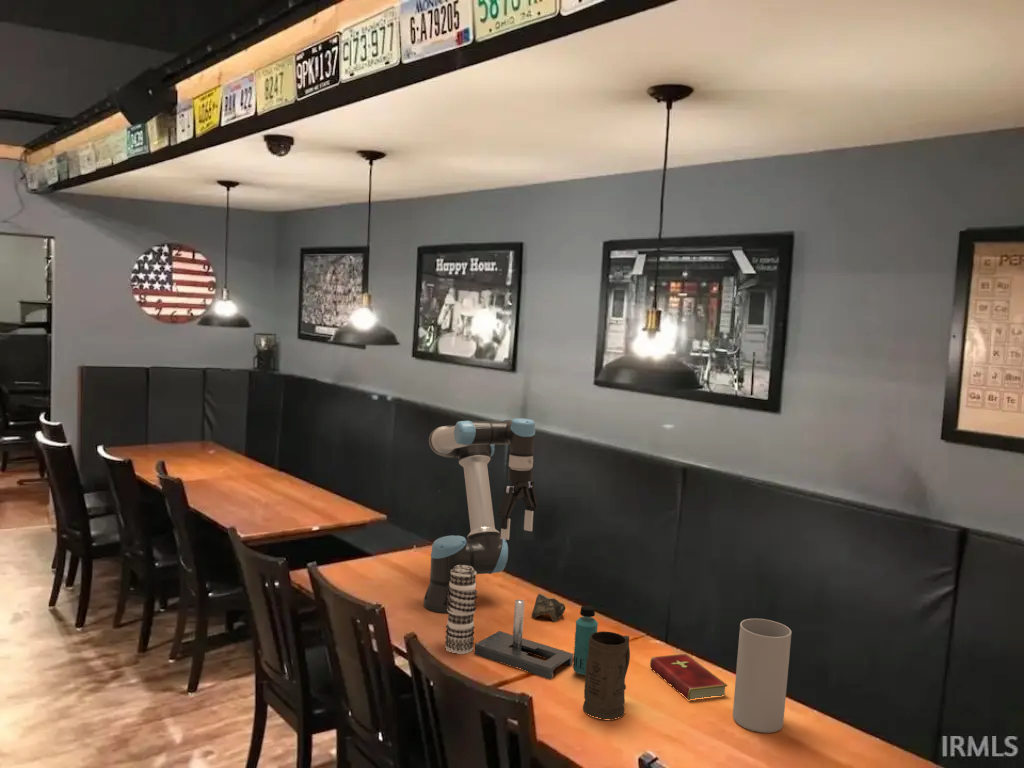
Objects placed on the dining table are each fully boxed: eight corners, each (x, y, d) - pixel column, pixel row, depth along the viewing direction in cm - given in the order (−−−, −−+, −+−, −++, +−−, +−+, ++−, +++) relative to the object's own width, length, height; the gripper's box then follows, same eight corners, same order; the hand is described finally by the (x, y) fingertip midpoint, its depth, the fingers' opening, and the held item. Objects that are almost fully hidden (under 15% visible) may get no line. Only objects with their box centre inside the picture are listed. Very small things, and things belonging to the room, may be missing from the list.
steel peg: (504, 657, 241) (507, 601, 240) (513, 651, 246) (517, 596, 244) (519, 662, 238) (522, 605, 237) (528, 656, 243) (531, 600, 241)
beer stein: (612, 726, 204) (620, 647, 203) (574, 713, 209) (581, 636, 209) (636, 707, 217) (644, 633, 216) (600, 695, 222) (607, 622, 222)
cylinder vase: (754, 737, 202) (762, 639, 200) (722, 714, 214) (730, 621, 212) (793, 730, 207) (802, 634, 205) (760, 707, 219) (768, 616, 217)
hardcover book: (688, 703, 220) (689, 688, 219) (649, 670, 239) (650, 656, 239) (726, 698, 224) (727, 683, 223) (685, 666, 243) (686, 652, 243)
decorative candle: (437, 647, 246) (441, 566, 243) (459, 639, 252) (464, 560, 250) (458, 657, 239) (462, 574, 237) (480, 649, 246) (485, 568, 244)
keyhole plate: (474, 654, 242) (474, 643, 242) (498, 640, 253) (499, 630, 253) (550, 679, 228) (550, 668, 228) (572, 664, 239) (573, 653, 239)
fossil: (566, 610, 281) (567, 590, 276) (562, 631, 274) (563, 611, 268) (535, 606, 283) (535, 585, 277) (530, 627, 275) (531, 606, 270)
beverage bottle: (597, 673, 234) (602, 605, 233) (591, 682, 228) (596, 612, 226) (575, 668, 236) (579, 601, 235) (569, 677, 230) (573, 608, 228)
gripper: (509, 475, 244) (504, 545, 246) (551, 465, 265) (546, 529, 267) (488, 471, 248) (484, 540, 250) (531, 461, 269) (527, 525, 271)
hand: (516, 534), depth 258 cm, fingers open, 13 cm apart
